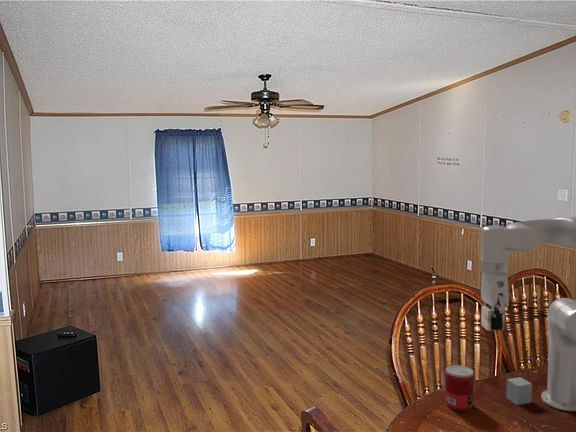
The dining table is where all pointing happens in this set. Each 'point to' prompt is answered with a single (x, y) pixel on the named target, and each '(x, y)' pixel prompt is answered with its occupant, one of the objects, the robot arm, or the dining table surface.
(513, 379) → the slate block
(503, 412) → the dining table surface
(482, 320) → the birch block
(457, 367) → the canned food
